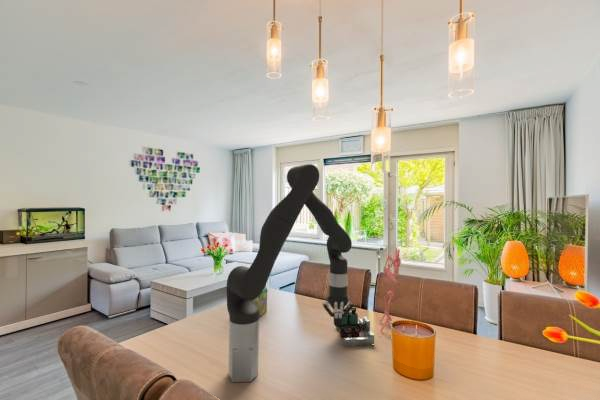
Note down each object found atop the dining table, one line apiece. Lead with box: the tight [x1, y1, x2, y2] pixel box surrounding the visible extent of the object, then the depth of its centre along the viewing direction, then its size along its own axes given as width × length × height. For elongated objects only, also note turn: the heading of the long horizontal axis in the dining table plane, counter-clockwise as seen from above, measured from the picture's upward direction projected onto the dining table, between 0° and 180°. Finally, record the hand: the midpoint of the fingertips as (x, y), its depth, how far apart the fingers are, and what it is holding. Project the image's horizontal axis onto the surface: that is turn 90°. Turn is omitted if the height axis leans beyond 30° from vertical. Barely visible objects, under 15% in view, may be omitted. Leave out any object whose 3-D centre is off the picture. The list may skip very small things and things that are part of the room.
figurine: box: [379, 247, 402, 338], centre depth 129 cm, size 15×26×35 cm, turn 167°
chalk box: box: [253, 287, 268, 318], centre depth 144 cm, size 9×9×15 cm
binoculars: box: [338, 306, 362, 339], centre depth 121 cm, size 9×11×10 cm
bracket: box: [335, 315, 375, 347], centre depth 121 cm, size 16×12×7 cm
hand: (337, 326), depth 121 cm, fingers closed
